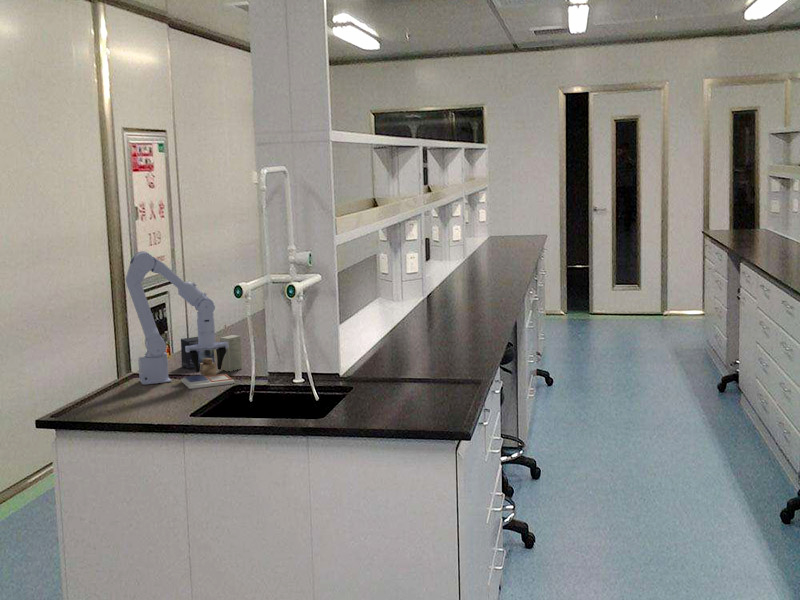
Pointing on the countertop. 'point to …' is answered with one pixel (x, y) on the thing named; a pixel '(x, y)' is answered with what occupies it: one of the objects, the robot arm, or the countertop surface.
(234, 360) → the skincare box
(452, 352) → the countertop surface
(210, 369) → the stamp
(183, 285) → the robot arm
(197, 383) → the board
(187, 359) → the small box
